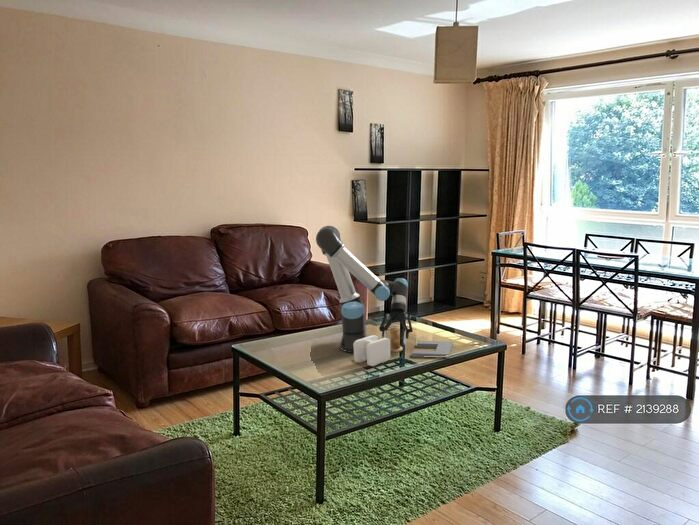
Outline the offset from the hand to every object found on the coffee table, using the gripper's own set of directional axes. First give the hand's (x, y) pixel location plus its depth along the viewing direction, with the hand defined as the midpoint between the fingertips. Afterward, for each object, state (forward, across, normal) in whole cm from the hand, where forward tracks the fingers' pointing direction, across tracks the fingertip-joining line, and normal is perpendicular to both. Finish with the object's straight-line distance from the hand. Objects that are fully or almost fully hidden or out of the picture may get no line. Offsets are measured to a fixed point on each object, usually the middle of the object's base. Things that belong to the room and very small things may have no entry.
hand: (394, 343), depth 291 cm
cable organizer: (+15, +8, +8) cm, 18 cm away
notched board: (+1, -19, -5) cm, 20 cm away
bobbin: (+1, 0, -5) cm, 5 cm away
